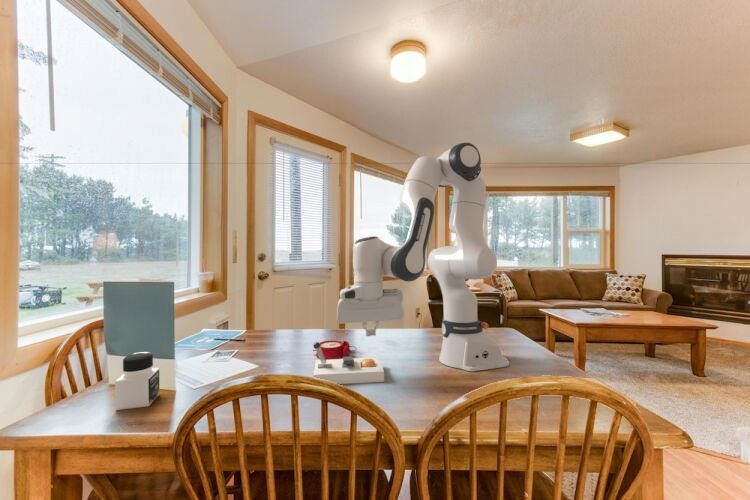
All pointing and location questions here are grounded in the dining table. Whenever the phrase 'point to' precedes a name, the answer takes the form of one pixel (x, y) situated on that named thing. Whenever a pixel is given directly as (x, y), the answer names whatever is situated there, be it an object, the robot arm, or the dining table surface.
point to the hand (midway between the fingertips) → (370, 335)
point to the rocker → (348, 360)
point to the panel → (349, 371)
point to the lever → (319, 352)
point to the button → (367, 363)
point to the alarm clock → (334, 349)
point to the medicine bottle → (137, 382)
